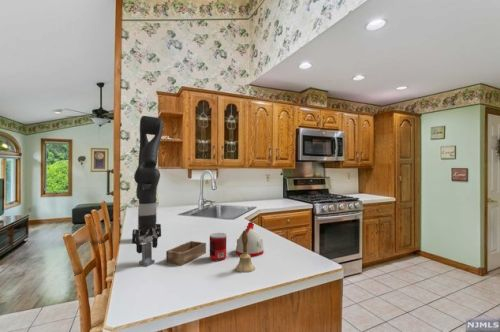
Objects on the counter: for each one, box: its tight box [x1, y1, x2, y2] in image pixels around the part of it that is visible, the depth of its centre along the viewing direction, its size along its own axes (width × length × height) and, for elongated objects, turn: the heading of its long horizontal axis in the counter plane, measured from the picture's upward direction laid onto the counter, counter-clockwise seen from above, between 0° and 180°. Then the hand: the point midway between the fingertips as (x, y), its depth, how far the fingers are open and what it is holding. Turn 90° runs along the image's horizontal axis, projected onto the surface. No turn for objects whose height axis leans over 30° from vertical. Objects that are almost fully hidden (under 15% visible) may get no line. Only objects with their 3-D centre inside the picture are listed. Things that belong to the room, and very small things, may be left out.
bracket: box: [138, 242, 156, 267], centre depth 112 cm, size 5×4×9 cm
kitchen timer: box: [235, 221, 264, 258], centre depth 128 cm, size 14×14×15 cm
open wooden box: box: [165, 240, 207, 266], centre depth 120 cm, size 9×18×5 cm, turn 156°
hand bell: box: [235, 229, 256, 273], centre depth 106 cm, size 8×8×16 cm
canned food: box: [209, 232, 227, 262], centre depth 119 cm, size 8×8×11 cm
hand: (147, 250), depth 112 cm, fingers open, 8 cm apart
